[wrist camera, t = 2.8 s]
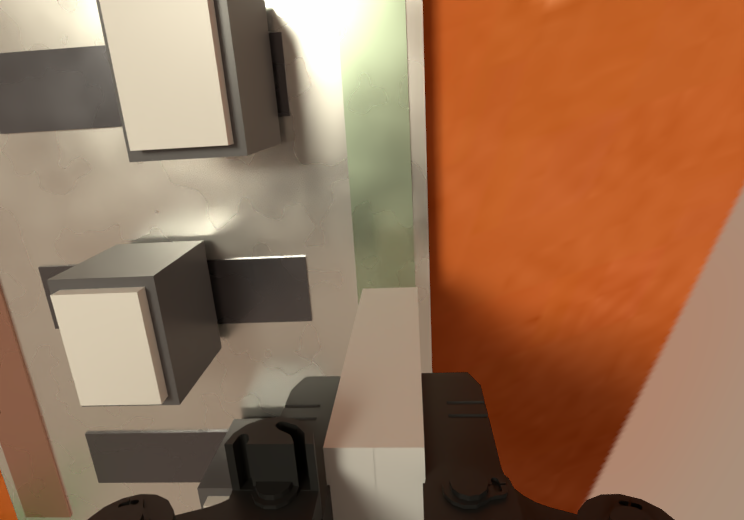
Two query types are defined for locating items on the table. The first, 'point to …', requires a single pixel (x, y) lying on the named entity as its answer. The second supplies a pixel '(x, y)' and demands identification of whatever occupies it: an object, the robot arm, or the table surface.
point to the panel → (201, 237)
